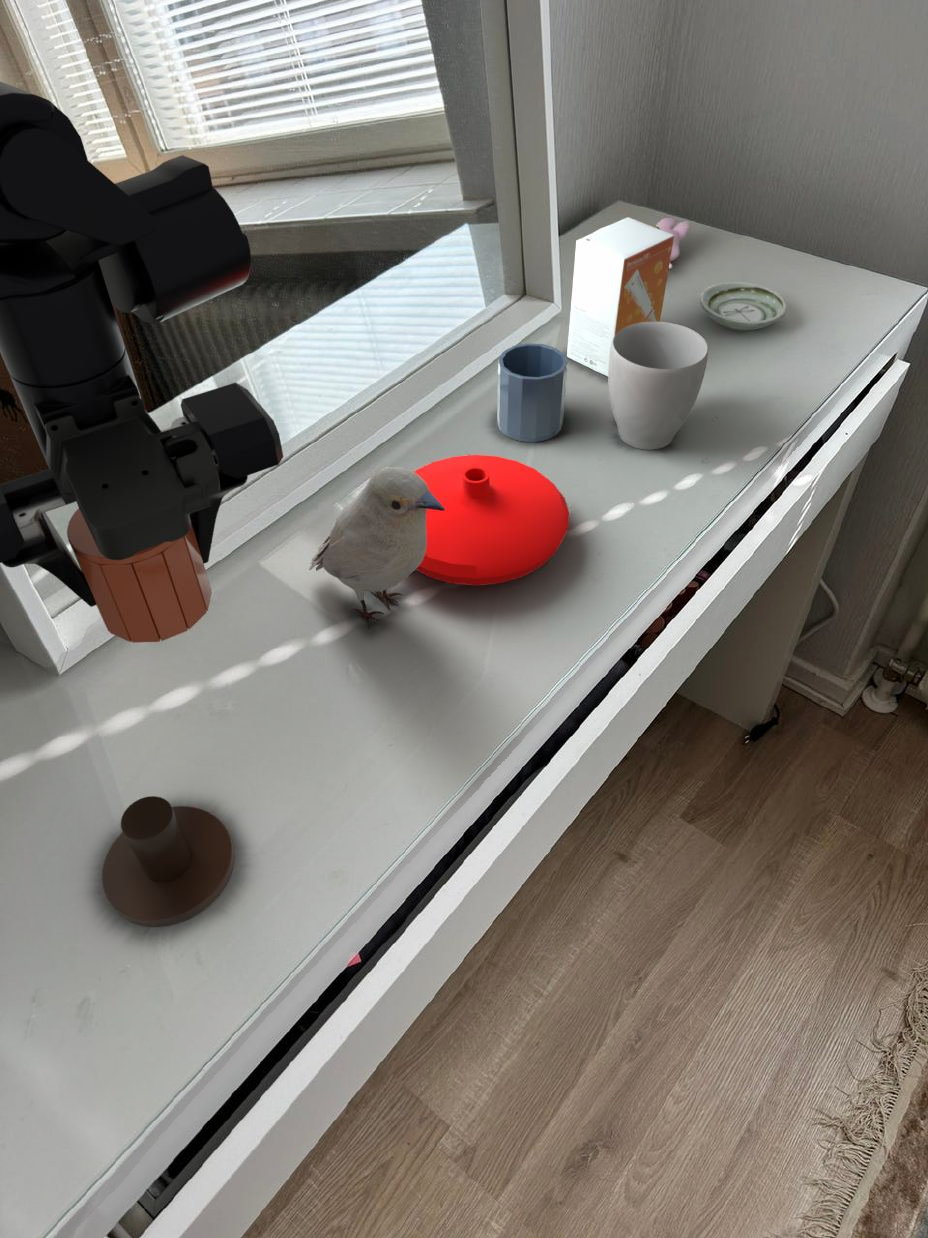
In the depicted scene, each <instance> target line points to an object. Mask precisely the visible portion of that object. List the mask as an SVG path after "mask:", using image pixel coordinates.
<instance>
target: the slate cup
mask: <svg viewBox="0 0 928 1238" xmlns="http://www.w3.org/2000/svg"><path fill="white" fill-rule="evenodd" d="M568 363H569V362H568V359H567V355H566V354H565V353H564V352H562V351H560V350H559V349H558V348H556V347H553V346H551V345H548V344H544V343H532V342H528V343H527V342H526V343H522V344H517V345H513V346H511V347H509V348H507V349H505V350H503V351H502V353H501V354H500V356H499V357H498V359H497V408H496V409H497V410H496V412H497V415H496V416H497V417H496V418H497V426H498V429H499V430H500V432H501V433H502V434H503V435H504V436H506V437H508V438H510V439H512V440H515V441H518V442H524V443H537V442H539V443H540V442H544V441H547V440H550V439H552V438H553V437H556V436H557V435H558V434H559V433H560V431H561V430H562V427H563V422H564V416H565V415H564V414H565V403H566V402H565V401H566V391H567V390H566V389H567V378H568V377H567V376H568Z"/></svg>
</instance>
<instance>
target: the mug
mask: <svg viewBox="0 0 928 1238" xmlns="http://www.w3.org/2000/svg"><path fill="white" fill-rule="evenodd" d="M708 359H709V346H708V343H707V341H706V340H705V339H704V338H703V337H702V335H701V334H699V333H698V332H697V331H695V330H693V329H691V328H689V327H687V326H684V325H681V324H677V323H673V322H667V321H660V322H641V323H636V324H632V325H629V326H627V327H625V328H623V329H621V330H620V331H619V332H618V333H617V334H616V335H615V336H614V337H613V339H612V342H611V347H610V355H609V369H608V377H607V382H608V384H607V385H608V386H607V387H608V396H609V403H610V407H611V411H612V415H613V419H614V421H615V424H616V427H617V430H618V436H619V438H620V439H621V440H622V441H623V442H624V443H625V444H627V445H628V446H630V447H633V448H636V449H641V450H646V451H649V450H653V451H654V450H658V449H663V448H665V447H667V446H668V445H670V444H671V443H672V442H673V439H674V437H675V436H676V434H677V432H678V431H679V430H680V429H681V427H682V426H683V425H684V423H685V422H686V420H687V419H688V418H689V415H690V414H691V412H692V410H693V408H694V405H695V403H696V401H697V398H698V396H699V393H700V391H701V387H702V384H703V381H704V377H705V373H706V369H707V364H708Z"/></svg>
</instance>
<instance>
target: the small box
mask: <svg viewBox="0 0 928 1238" xmlns="http://www.w3.org/2000/svg"><path fill="white" fill-rule="evenodd" d="M673 239H674V235H672V234H670V233H667V232H665V231H662V230H660V229H657V228H655V226H651V225H649V224H647V223H644V222H642V221H640V220H636V219H634V218H631V217H629V216H628V217H625V218H622V219H621V220H618V221H615V222H613V223H611V224H609V225H606V226H603V227H601V228H599V229H597V230H595V231H594V232H592V233H590V234H587V235H586V236H583V237H581V238H579V239H576V242H575V253H574V265H573V277H572V290H571V302H570V314H569V323H568V325H569V327H568V336H567V337H568V338H567V349H566V358H568V359H570V360H572V361H574V362H577V363H578V364H581V365H582V366H584V367H587V368H589V369H591V370H593V371H595V372H597V373H599V374H601V375H603V376H605V377H607V378H608V369H609V355H610V347H611V342H612V339H613V337H614V336H615V335H616V334H617V333H618V332H619V331H620V330H621V329H623V328H625V327H627V326H629V325H632V324H636V323H641V322H661V318H662V312H663V307H664V300H665V294H666V289H667V281H668V277H669V276H668V275H669V270H670V269H669V264H670V263H671V261H670V258H671V252H672V246H673Z"/></svg>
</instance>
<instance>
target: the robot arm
mask: <svg viewBox="0 0 928 1238" xmlns="http://www.w3.org/2000/svg"><path fill="white" fill-rule="evenodd" d="M82 139H83V138H82V137H81V135H80V134H79V132H78V130H77V129H76V127H75V126H74V124H73V123H72V121H71V119H70V118H69V116H67V115H66V113H64V112H63V111H62V110H60V109H59V108H58V107H57V106H56V105H55V104H54V103H53V102H52V101H50V100H49V99H48V98H44V97H42V96H39V95H37V94H34V93H32V92H29V91H27V90H24V89H21V88H18V87H16V86H13V85H11V84H8V83H5V82H3V81H0V355H1V358H2V360H3V362H4V365H5V367H6V370H7V372H8V374H9V377H10V379H11V381H12V384H13V386H14V388H15V391H16V393H17V396H18V398H19V401H20V403H21V405H22V407H23V410H24V412H25V415H26V417H27V419H28V422H29V424H30V426H31V429H32V431H33V434H34V436H35V438H36V441H37V443H38V446H39V448H40V451H41V454H42V455H43V458H44V460H45V462H46V465H47V466H48V468H46V469H43V470H41V471H38V472H34V473H32V474H27V475H25V476H22V477H19V478H16V479H12V480H9V481H6V482H3V483H0V564H2V565H3V566H5V567H7V568H16V567H19V566H22V565H37V566H38V567H40V568H42V569H44V570H45V571H47V572H48V573H50V575H53V576H54V577H55V578H57V579H58V580H59V581H60V582H61V583H62V584H64V585H65V586H66V587H67V588H68V589H69V590H70V591H72V592H73V593H74V594H75V596H77V597H78V598H80V599H81V600H82V601H83V602H84V603H86V605H88V606H89V607H91V608H93V607H96V605H97V604H96V602H95V599H94V597H93V595H92V592H91V590H90V588H89V586H88V583H87V581H86V579H85V577H84V575H83V573H82V571H81V569H80V566H79V564H78V562H77V560H76V558H74V556H73V554H72V553H71V551H70V550H69V548H68V546H67V544H66V543H65V541H64V540H63V537H61V535H60V533H59V532H58V530H57V529H56V527H55V525H54V524H53V522H52V520H51V519H50V517H49V516H48V514H47V512H50V511H53V510H56V509H59V508H62V507H65V506H67V505H71V504H74V503H76V505H77V507H78V508H79V509H80V511H81V513H82V515H83V518H84V520H85V522H86V524H87V526H88V528H89V530H90V532H91V534H92V537H93V539H94V541H95V543H96V545H97V548H98V550H99V551H100V553H101V554H102V555H103V556H104V557H106V558H108V559H110V560H123V559H126V558H129V557H132V556H134V555H135V554H136V553H137V552H140V551H142V550H145V549H148V548H151V547H153V546H156V545H159V544H161V543H164V542H167V541H169V542H173V541H175V540H178V539H180V538H182V537H184V536H185V535H186V534H187V533H188V532H189V530H190V527H191V523H192V526H193V530H194V533H195V536H196V540H197V543H198V546H199V550H200V553H201V556H202V560H203V563H204V565H205V564H207V563H209V560H210V554H211V549H212V545H213V544H212V543H213V538H214V532H215V526H216V521H217V518H218V517H217V516H218V513H219V510H220V507H221V504H222V501H223V498H224V497H225V496H226V495H228V494H229V493H231V492H232V491H233V490H236V489H238V488H240V487H243V486H245V485H246V483H247V481H248V476H250V475H253V474H256V473H259V472H262V471H264V470H267V469H270V468H273V467H276V466H278V465H280V463H281V462H282V460H283V459H284V451H283V446H282V441H281V436H280V432H279V430H278V428H277V426H276V423H275V421H274V419H273V418H272V417H271V416H270V415H269V413H268V412H267V411H266V410H265V409H264V407H263V406H262V405H261V403H260V402H259V401H258V400H257V399H256V397H254V395H253V394H252V393H251V392H250V390H249V389H248V388H246V387H244V386H243V385H241V384H240V383H237V382H232V383H230V384H226V385H222V386H220V387H217V388H213V389H210V390H206V391H203V392H201V393H197V394H194V395H191V396H187V397H185V398H181V401H180V408H181V413H182V416H181V417H178V418H176V419H174V420H173V422H171V426H170V427H168V428H165V429H162V430H161V429H160V427H159V425H158V424H157V423H156V421H155V420H154V419H153V418H152V417H151V415H150V414H149V412H148V411H147V410H146V409H145V405H144V402H143V400H142V397H141V393H140V389H139V387H138V383H137V380H136V377H135V374H134V370H133V367H132V363H131V361H130V358H129V354H128V352H127V351H128V350H127V348H126V345H125V342H124V338H123V335H122V332H121V329H120V325H119V322H118V319H117V315H116V313H115V310H114V307H115V309H117V310H118V311H120V312H121V313H125V314H130V313H133V314H134V315H135V316H136V317H138V319H140V320H141V321H143V322H145V323H146V324H151V325H156V324H161V323H162V322H165V321H166V320H168V319H170V318H173V317H175V316H177V315H179V314H181V313H183V312H186V311H188V310H190V309H192V308H194V307H197V306H199V305H201V304H204V303H205V302H208V301H209V300H212V299H213V298H216V297H218V296H220V295H223V294H225V293H227V292H229V291H231V290H233V289H236V288H237V287H240V286H243V284H245V283H246V282H247V280H248V279H249V276H250V273H251V268H252V254H251V247H250V241H249V238H248V236H247V235H246V234H245V232H243V231H242V228H241V226H240V223H239V221H238V220H237V217H236V215H235V213H234V212H233V210H232V208H231V207H230V205H229V204H228V202H227V201H226V199H225V198H224V197H223V196H222V195H221V193H220V192H219V191H218V190H217V189H216V188H215V187H214V186H213V181H212V176H211V172H210V167H209V165H207V164H206V163H204V162H201V161H199V160H196V159H194V158H192V157H189V156H185V155H183V154H182V155H179V156H176V157H173V158H170V159H168V160H166V161H163V162H161V164H159V165H158V166H157V167H155V168H153V169H152V170H149V171H147V172H144V173H141V174H138V175H136V176H133V177H130V178H127V179H124V180H121V181H118V182H116V183H114V182H113V181H112V180H111V179H110V178H109V177H107V175H105V174H104V173H103V172H102V171H101V170H99V168H97V167H96V166H95V165H94V164H93V163H91V161H89V159H88V156H87V152H86V149H85V146H84V143H83V140H82ZM190 520H191V521H190Z"/></svg>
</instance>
